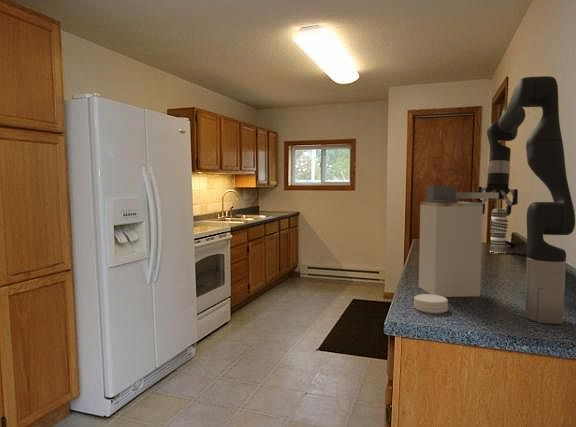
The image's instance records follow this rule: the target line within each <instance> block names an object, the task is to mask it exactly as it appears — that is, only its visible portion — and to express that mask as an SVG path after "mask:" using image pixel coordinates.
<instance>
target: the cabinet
mask: <svg viewBox="0 0 576 427" xmlns="http://www.w3.org/2000/svg"><path fill="white" fill-rule="evenodd" d="M419 209H420V210H419V258H418V259H419V260H418V264H419V265H418V287H419V288H420V289H421V290H422V291H424V292H426V293H427V294H434V295H439V296H443V297H445V298H450V297H451V298H453V297H454V298H455V297H462V298H463V297H480V296H481V279H482V278H481V276H482V274H481V273H482V270H481V269H482V248H483V247H482V244H483V242H482V240H483V237H482V236H483V215H484V214H483V203H478V202H473V201H472V202H470V201H469V202H468V201H458V199H456V200H434V203H427V202H426V198H424V201H420V208H419Z"/></svg>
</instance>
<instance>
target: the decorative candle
mask: <svg viewBox="0 0 576 427" xmlns="http://www.w3.org/2000/svg"><path fill="white" fill-rule="evenodd" d="M489 222H490V223H489V225H490V227H489V231H490V240H489V241H490V242H489V252H490V253H491V252H494V253H493V254H498V253H504V254H507V245H508V244H507V242H508V241H507V233H508V230H507V229H508V227H507V226H508V225H509V224H508V223H509V220H508V216H506V208H493V209H492V211H491V219H490V221H489Z"/></svg>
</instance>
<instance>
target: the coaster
mask: <svg viewBox="0 0 576 427" xmlns="http://www.w3.org/2000/svg"><path fill="white" fill-rule="evenodd" d="M413 300H414V301H413V303H414V304H413V308H414V309H416V310H417V311H420V312H424V313H430V314H442V313H446V312H448V310H449V300H448V298H447V297H443V296H439V295H434V294H429V293H422V294H421V293H420V294H419V293H418V294H416V295H415V296H414V298H413Z"/></svg>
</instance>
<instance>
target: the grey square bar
mask: <svg viewBox="0 0 576 427" xmlns="http://www.w3.org/2000/svg"><path fill="white" fill-rule="evenodd" d="M425 189H426V191H425V194H426V195H425V196H426V197H425V199H426V202H427V203H434V200H457V199H476V198H480V199H484V198H489V199H491V198H499V193H486V192H483V193H477V192H457V185H426V188H425Z"/></svg>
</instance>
